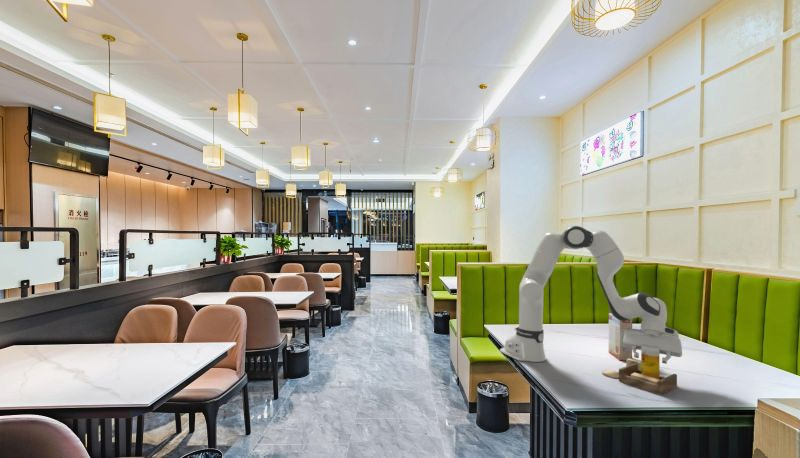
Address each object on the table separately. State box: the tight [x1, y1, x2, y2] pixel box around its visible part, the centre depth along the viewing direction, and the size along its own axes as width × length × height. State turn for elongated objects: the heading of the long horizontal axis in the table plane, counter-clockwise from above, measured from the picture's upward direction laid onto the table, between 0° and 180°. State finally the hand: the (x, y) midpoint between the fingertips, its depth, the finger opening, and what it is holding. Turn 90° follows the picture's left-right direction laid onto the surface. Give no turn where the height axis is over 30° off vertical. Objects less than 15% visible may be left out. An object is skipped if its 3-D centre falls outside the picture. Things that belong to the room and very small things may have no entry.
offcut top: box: [625, 358, 641, 370], centre depth 158 cm, size 6×4×3 cm
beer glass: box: [640, 344, 661, 379], centre depth 141 cm, size 6×6×15 cm
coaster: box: [601, 369, 619, 380], centre depth 149 cm, size 8×8×1 cm
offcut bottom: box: [631, 373, 660, 385], centre depth 137 cm, size 9×4×4 cm, turn 37°
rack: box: [618, 363, 678, 396], centre depth 140 cm, size 15×14×5 cm
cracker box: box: [608, 312, 633, 362], centre depth 174 cm, size 14×6×21 cm, turn 168°
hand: (650, 359), depth 141 cm, fingers open, 8 cm apart
